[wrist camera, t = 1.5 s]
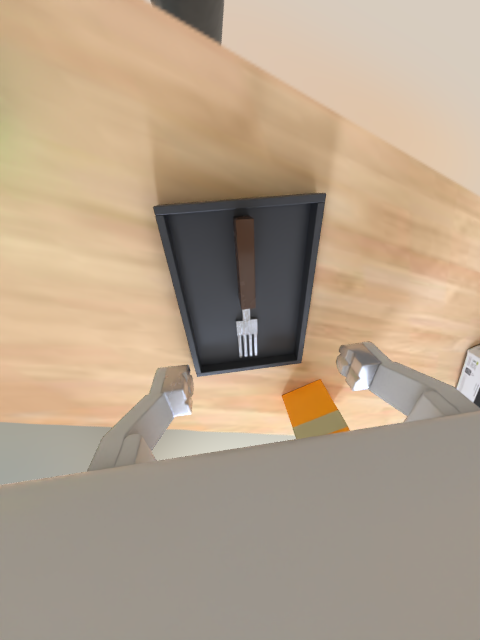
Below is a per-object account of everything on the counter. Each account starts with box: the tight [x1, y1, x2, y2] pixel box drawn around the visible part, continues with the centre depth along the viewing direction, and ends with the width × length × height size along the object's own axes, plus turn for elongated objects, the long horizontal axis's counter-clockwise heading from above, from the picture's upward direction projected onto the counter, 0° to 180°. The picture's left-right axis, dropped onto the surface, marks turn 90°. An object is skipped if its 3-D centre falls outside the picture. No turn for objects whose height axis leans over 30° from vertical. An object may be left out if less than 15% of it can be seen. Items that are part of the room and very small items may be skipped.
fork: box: [233, 215, 258, 358], centre depth 24 cm, size 18×3×3 cm, turn 3°
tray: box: [153, 193, 326, 377], centre depth 24 cm, size 21×15×2 cm
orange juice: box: [282, 379, 350, 439], centre depth 30 cm, size 8×9×20 cm
